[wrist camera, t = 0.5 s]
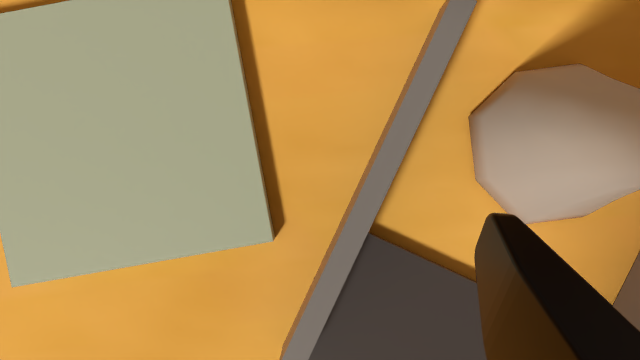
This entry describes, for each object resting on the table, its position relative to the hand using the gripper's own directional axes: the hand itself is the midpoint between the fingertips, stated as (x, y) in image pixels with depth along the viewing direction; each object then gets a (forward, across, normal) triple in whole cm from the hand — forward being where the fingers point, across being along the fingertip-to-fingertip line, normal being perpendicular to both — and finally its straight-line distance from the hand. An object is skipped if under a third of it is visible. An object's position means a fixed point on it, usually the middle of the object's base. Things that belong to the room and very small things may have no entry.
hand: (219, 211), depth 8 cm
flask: (+13, -12, +7) cm, 19 cm away
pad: (+12, +8, +7) cm, 16 cm away
